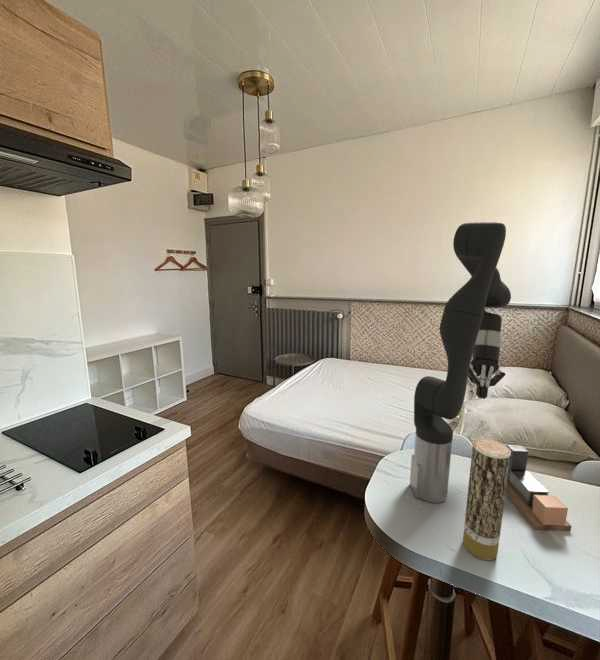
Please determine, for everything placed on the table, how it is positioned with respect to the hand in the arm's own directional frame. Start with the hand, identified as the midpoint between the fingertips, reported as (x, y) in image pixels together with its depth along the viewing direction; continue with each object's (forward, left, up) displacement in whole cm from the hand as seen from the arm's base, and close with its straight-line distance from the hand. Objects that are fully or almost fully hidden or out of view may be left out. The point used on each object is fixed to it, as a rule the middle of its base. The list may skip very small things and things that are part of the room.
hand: (481, 398), depth 100 cm
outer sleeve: (+4, -20, -19) cm, 28 cm away
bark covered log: (-16, -36, -21) cm, 45 cm away
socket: (+4, -28, -19) cm, 34 cm away
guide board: (+4, -20, -21) cm, 29 cm away
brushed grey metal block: (+4, -21, -19) cm, 28 cm away
